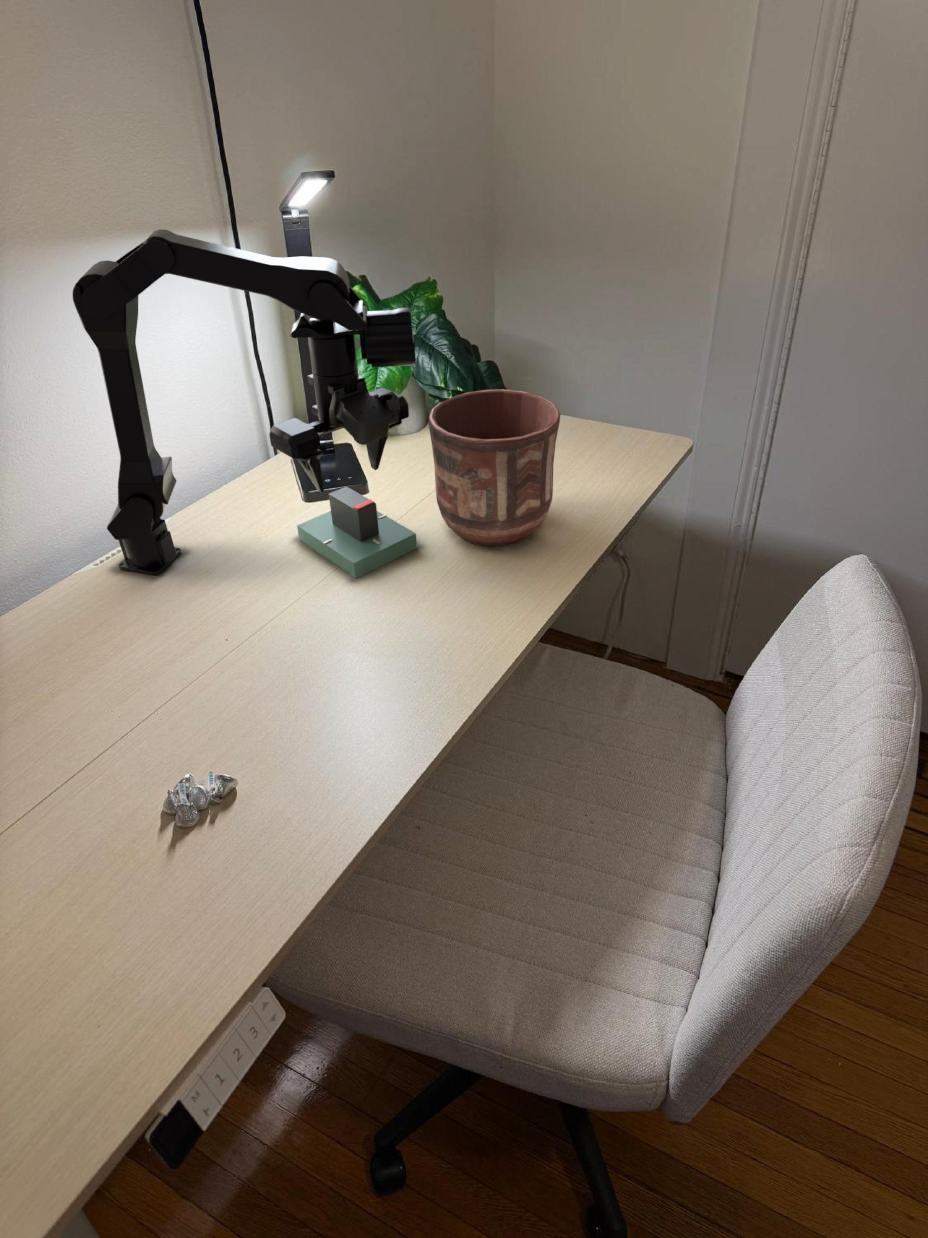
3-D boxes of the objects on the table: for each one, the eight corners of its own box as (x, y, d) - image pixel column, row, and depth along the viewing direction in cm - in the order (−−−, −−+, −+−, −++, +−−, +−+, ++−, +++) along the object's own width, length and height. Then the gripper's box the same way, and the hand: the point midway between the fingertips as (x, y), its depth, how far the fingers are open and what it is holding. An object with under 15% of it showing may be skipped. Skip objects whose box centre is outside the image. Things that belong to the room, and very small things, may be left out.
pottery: (518, 571, 113) (520, 451, 102) (413, 538, 120) (404, 423, 109) (573, 514, 125) (581, 401, 114) (474, 487, 132) (472, 379, 121)
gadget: (332, 524, 119) (328, 492, 116) (350, 516, 121) (346, 484, 118) (361, 542, 115) (357, 509, 112) (379, 533, 117) (376, 501, 114)
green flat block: (298, 540, 121) (295, 524, 119) (359, 513, 127) (357, 497, 125) (355, 578, 112) (353, 562, 111) (417, 547, 118) (416, 532, 117)
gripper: (308, 408, 94) (325, 525, 103) (432, 365, 103) (437, 476, 113) (257, 382, 100) (278, 495, 110) (378, 344, 110) (387, 451, 119)
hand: (348, 479), depth 113 cm, fingers open, 9 cm apart
